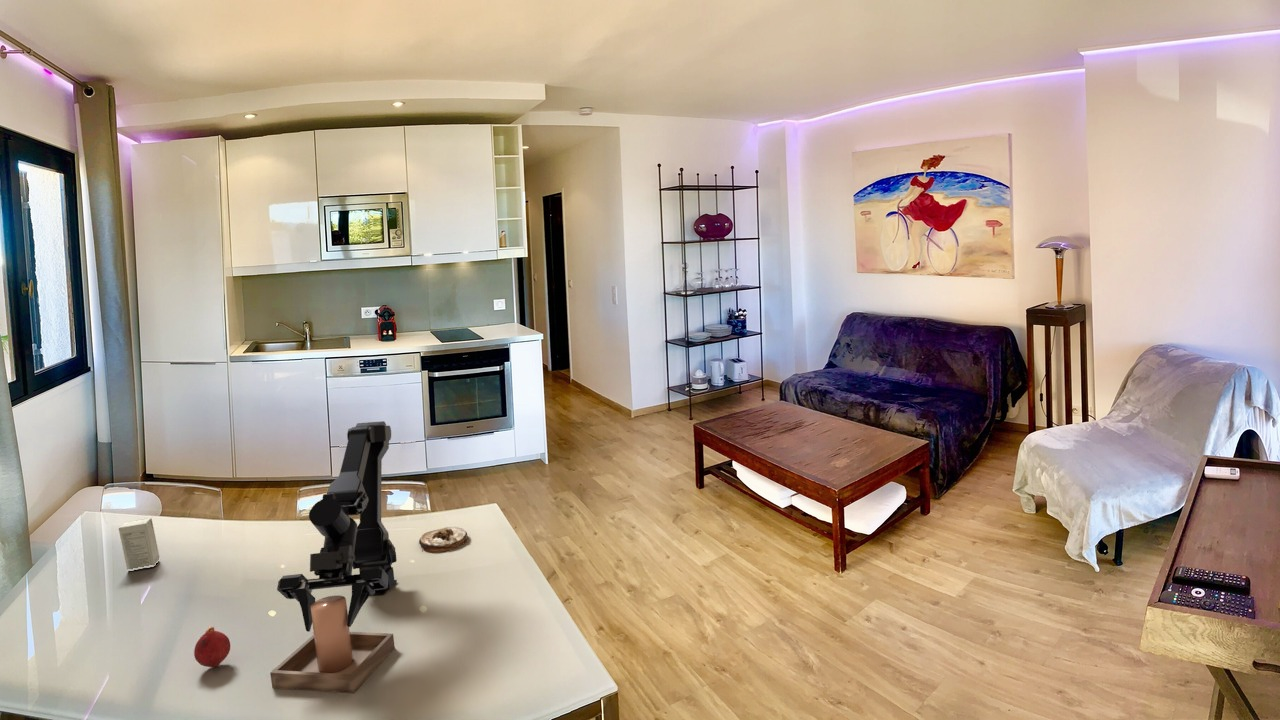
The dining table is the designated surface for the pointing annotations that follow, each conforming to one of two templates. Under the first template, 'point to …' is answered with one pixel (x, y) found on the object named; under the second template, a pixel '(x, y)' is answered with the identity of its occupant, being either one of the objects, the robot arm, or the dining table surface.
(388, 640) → the box
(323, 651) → the terracotta cylinder
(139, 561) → the skincare box
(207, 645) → the onion
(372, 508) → the robot arm
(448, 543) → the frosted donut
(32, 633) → the dining table surface
